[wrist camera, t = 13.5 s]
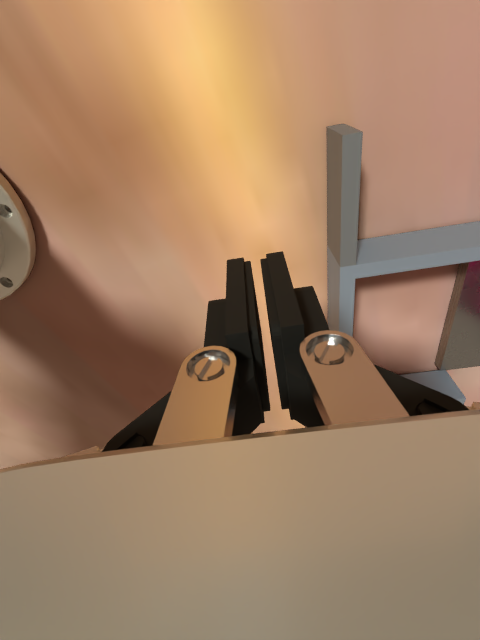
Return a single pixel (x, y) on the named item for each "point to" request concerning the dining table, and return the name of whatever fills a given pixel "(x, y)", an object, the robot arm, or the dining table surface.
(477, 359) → the base plate
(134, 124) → the dining table surface
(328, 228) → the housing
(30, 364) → the dining table surface
